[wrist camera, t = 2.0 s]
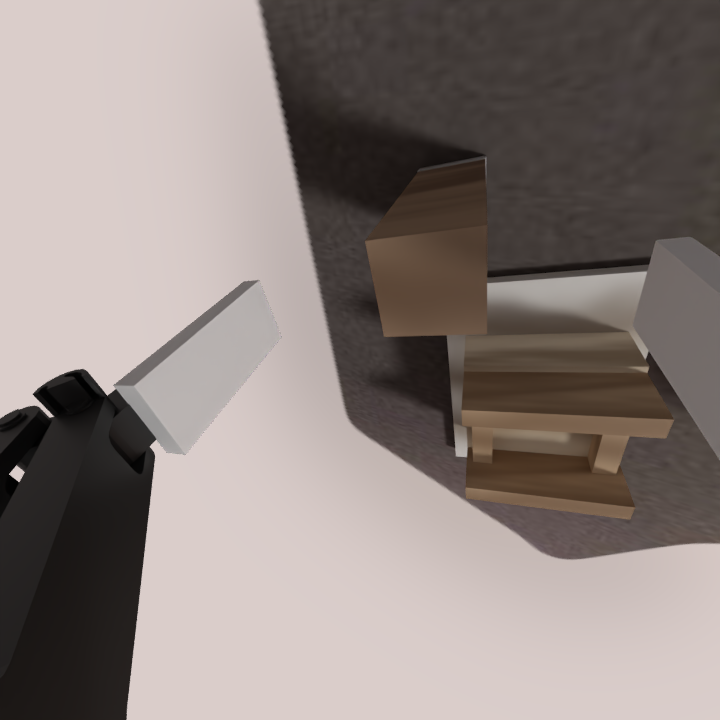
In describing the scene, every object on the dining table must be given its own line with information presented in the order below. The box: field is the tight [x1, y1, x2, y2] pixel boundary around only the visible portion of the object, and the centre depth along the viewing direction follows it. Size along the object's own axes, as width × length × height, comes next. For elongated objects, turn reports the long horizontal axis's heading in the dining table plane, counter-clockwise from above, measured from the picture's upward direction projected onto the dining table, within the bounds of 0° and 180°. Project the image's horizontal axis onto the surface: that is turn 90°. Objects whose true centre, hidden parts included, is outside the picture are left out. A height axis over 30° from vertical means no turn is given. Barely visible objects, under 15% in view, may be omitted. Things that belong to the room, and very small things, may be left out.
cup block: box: [447, 265, 674, 519], centre depth 26 cm, size 20×14×9 cm
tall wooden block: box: [365, 155, 487, 337], centre depth 18 cm, size 4×4×14 cm
